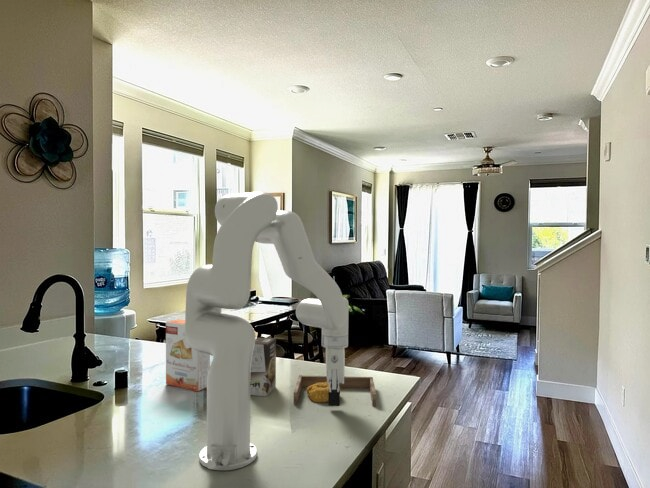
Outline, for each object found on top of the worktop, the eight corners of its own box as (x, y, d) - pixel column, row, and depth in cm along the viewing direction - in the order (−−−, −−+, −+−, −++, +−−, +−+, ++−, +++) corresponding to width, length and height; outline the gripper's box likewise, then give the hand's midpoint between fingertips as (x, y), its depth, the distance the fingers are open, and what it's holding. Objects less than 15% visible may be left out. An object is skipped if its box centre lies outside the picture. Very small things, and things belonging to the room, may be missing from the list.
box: (376, 406, 134) (376, 394, 134) (293, 404, 135) (293, 392, 135) (372, 387, 150) (372, 377, 150) (298, 386, 151) (298, 375, 151)
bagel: (321, 389, 149) (321, 374, 149) (347, 398, 142) (347, 382, 141) (298, 397, 142) (298, 382, 142) (325, 407, 134) (325, 391, 134)
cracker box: (164, 385, 151) (164, 321, 150) (178, 380, 156) (178, 318, 156) (197, 392, 144) (197, 325, 144) (210, 386, 150) (210, 322, 149)
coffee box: (267, 396, 141) (267, 344, 141) (247, 395, 142) (247, 343, 142) (276, 387, 150) (276, 337, 150) (257, 385, 151) (257, 336, 151)
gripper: (348, 347, 124) (347, 415, 124) (347, 335, 138) (346, 396, 139) (320, 346, 124) (319, 414, 124) (322, 334, 139) (321, 395, 139)
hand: (334, 404), depth 132 cm, fingers closed
